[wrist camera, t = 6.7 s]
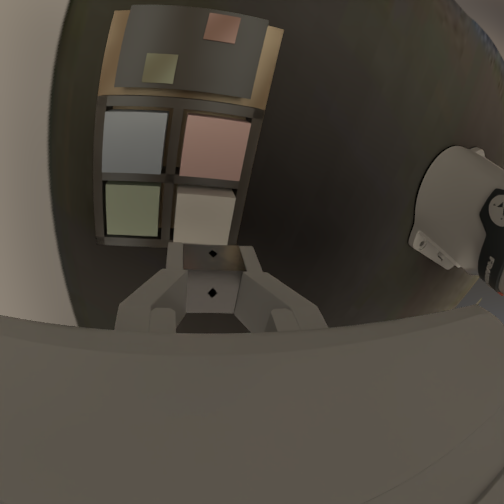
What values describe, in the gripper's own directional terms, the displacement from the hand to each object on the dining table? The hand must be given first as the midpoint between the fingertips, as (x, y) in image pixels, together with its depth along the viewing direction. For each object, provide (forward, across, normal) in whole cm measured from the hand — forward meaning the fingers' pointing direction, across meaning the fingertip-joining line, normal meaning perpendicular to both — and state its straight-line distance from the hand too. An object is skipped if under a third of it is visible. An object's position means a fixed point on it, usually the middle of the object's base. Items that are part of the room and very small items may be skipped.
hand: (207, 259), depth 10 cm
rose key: (+12, -1, -2) cm, 12 cm away
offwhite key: (+12, -1, +4) cm, 13 cm away
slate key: (+12, +5, -2) cm, 13 cm away
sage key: (+13, +5, +4) cm, 14 cm away
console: (+14, +2, -2) cm, 14 cm away
